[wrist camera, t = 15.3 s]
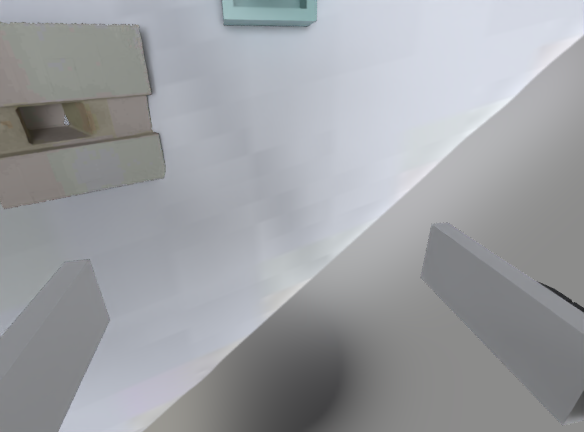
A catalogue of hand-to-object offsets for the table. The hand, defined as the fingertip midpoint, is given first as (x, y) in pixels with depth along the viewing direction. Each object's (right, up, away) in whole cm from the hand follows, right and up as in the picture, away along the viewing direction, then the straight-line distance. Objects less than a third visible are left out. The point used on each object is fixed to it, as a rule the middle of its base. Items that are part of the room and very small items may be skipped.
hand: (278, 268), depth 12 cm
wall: (-21, +14, +22) cm, 33 cm away
